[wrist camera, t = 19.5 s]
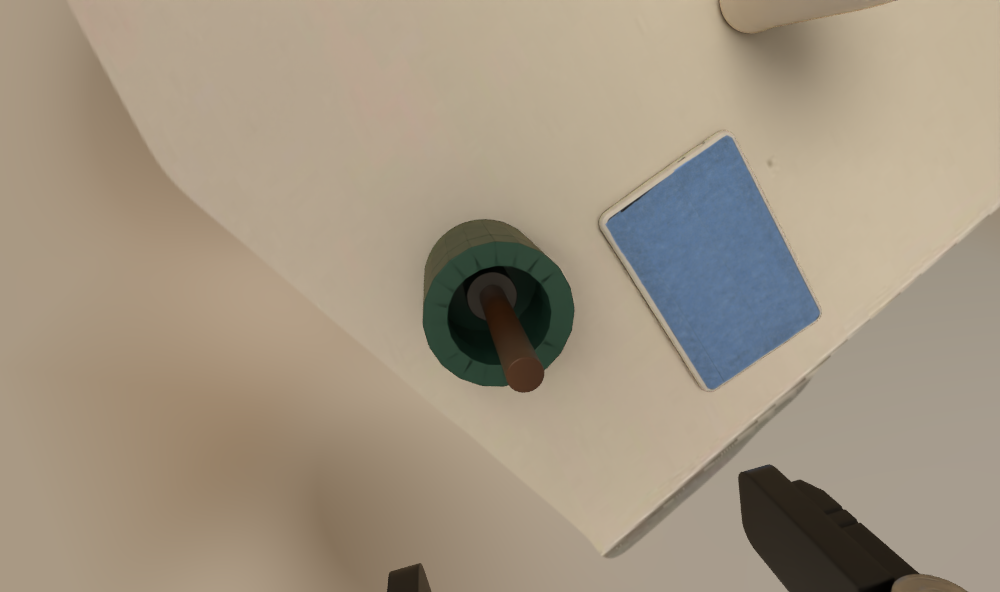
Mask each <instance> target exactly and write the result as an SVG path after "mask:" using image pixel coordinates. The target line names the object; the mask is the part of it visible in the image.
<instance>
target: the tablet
mask: <svg viewBox="0 0 1000 592" xmlns="http://www.w3.org/2000/svg"><path fill="white" fill-rule="evenodd" d="M599 227H600V229H601V231H602V233H603V234H604V236H605V237H606V239H607V240H608V242H609V243H610V245H611V246H612V248H613V250H614V251H615V253H616V254H617V256H618V257H619V259H620V260H621V262H622V264H623V265H624V267H625V268H626V270H627V271H628V273H629V275H630V276H631V278H632V279H633V281H634V283H635V284H636V286H637V287H638V289H639V291H640V292H641V294H642V295H643V297H644V299H645V300H646V302H647V303H648V305H649V307H650V308H651V310H652V311H653V313H654V314H655V316H656V318H657V319H658V321H659V322H660V324H661V326H662V327H663V329H664V330H665V332H666V334H667V335H668V337H669V338H670V340H671V341H672V343H673V345H674V346H675V348H676V349H677V351H678V352H679V354H680V356H681V357H682V359H683V360H684V362H685V364H686V365H687V367H688V368H689V370H690V372H691V373H692V375H693V376H694V378H695V380H696V381H697V383H698V385H699V386H700V388H701V389H703V390H705V391H708V392H712V391H715V390H717V389H718V388H720V387H721V386H723V385H724V384H725V383H727V382H729V381H730V380H732V379H733V378H734V377H736V376H737V375H739V374H740V373H742V372H743V371H745V370H746V369H748V368H749V367H750V366H752V365H754V364H755V363H756V362H758V361H759V360H761V359H762V358H764V357H765V356H767V355H768V354H770V353H771V352H773V351H774V350H776V349H777V348H778V347H780V346H781V345H783V344H784V343H786V342H787V341H789V340H790V339H792V338H793V337H795V336H796V335H798V334H799V333H800V332H802V331H803V330H805V329H806V328H808V327H809V326H811V325H812V324H814V323H815V322H817V321H818V320H819V318H820V317H821V314H822V309H821V307H820V305H819V303H818V301H817V299H816V297H815V295H814V293H813V291H812V289H811V287H810V285H809V283H808V281H807V279H806V277H805V275H804V273H803V271H802V269H801V267H800V265H799V263H798V261H797V259H796V257H795V255H794V253H793V251H792V249H791V247H790V245H789V243H788V241H787V239H786V237H785V235H784V233H783V231H782V229H781V227H780V225H779V223H778V221H777V219H776V217H775V215H774V213H773V211H772V209H771V207H770V205H769V203H768V201H767V199H766V197H765V195H764V193H763V190H762V188H761V186H760V184H759V183H758V181H757V179H756V176H755V174H754V173H753V171H752V169H751V167H750V166H749V163H748V161H747V159H746V157H745V156H744V153H743V151H742V149H741V147H740V146H739V143H738V141H737V139H736V137H735V136H734V135H733V134H732V133H731V132H729V131H726V130H722V131H719V132H717V133H715V134H713V135H712V136H711V137H709V138H708V139H706V140H705V141H703V143H702V145H697V146H696V147H695V148H693V149H692V150H690V151H689V152H687V153H686V154H685V155H683V156H682V157H680V158H679V159H677V160H676V161H675V162H673V163H672V164H670V165H669V166H667V167H666V168H664V169H663V170H662V171H660V172H659V173H658V174H656V175H655V176H653V177H652V178H651V179H649V180H648V181H646V182H645V183H644V184H642V185H641V186H639V187H638V188H637V189H635V190H634V191H633V192H631V193H630V194H628V195H627V196H626V197H624V198H623V199H622V200H620V201H619V202H617V203H616V204H615V205H613V206H612V207H611V208H609V209H608V210H606V211H605V212H604V213H603V214H602V215H601V217H600V219H599Z"/></svg>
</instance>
